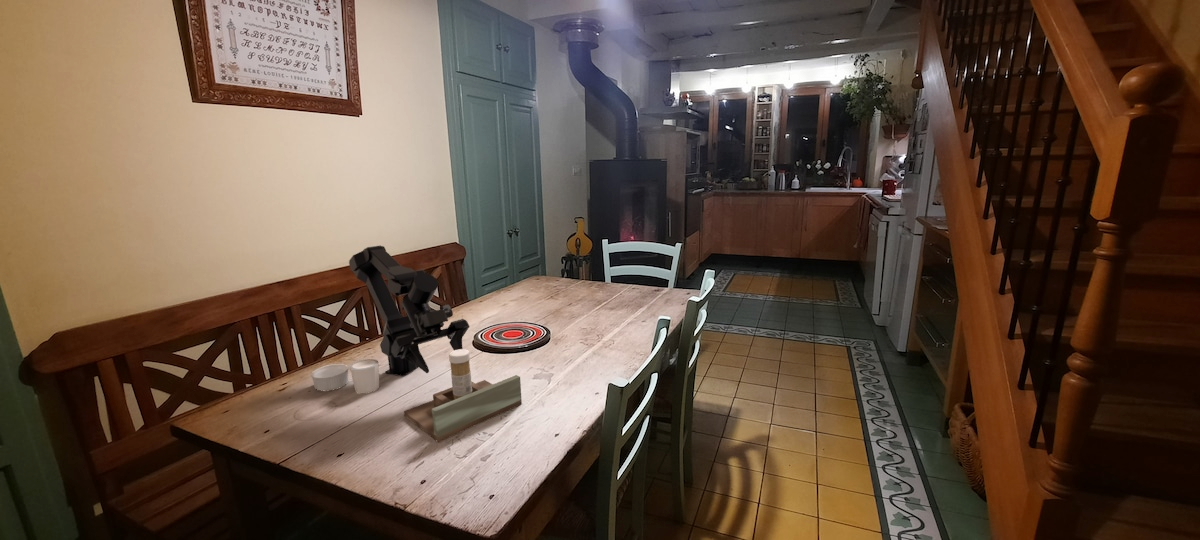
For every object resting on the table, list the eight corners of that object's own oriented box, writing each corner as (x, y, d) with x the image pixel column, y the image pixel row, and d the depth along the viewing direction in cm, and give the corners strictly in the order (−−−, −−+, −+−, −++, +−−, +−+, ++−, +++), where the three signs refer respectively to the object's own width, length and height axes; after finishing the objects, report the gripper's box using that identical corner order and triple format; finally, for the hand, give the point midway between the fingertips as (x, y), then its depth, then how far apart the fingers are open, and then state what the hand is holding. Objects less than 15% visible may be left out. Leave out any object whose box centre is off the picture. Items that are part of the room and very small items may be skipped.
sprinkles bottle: (465, 398, 119) (460, 347, 116) (477, 403, 117) (473, 351, 114) (449, 406, 116) (444, 353, 113) (461, 411, 113) (457, 357, 110)
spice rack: (404, 415, 114) (401, 387, 112) (484, 384, 130) (482, 358, 128) (438, 442, 103) (435, 411, 102) (521, 404, 119) (520, 376, 117)
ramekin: (308, 385, 131) (305, 370, 130) (343, 375, 137) (341, 360, 136) (319, 396, 125) (317, 380, 124) (355, 384, 131) (353, 369, 130)
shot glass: (387, 384, 130) (384, 360, 129) (367, 396, 124) (364, 371, 122) (367, 381, 132) (363, 357, 131) (346, 392, 126) (343, 367, 124)
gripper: (390, 305, 112) (418, 363, 107) (462, 288, 125) (489, 339, 120) (380, 329, 119) (405, 384, 115) (449, 311, 133) (474, 360, 128)
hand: (445, 366), depth 119 cm, fingers open, 9 cm apart
